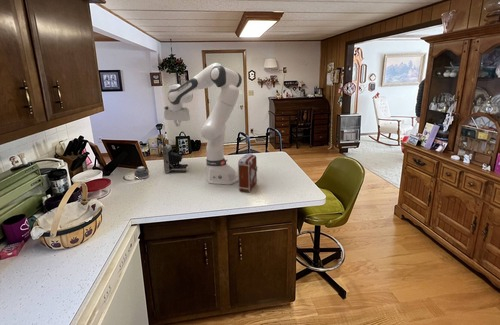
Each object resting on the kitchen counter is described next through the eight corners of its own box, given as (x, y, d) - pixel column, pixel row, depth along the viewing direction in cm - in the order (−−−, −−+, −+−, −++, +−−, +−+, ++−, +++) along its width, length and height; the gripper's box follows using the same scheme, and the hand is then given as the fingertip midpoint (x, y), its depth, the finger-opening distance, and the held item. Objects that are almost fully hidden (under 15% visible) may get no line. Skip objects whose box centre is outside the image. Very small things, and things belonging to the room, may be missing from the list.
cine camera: (261, 182, 185) (261, 152, 179) (251, 193, 167) (250, 160, 161) (247, 180, 187) (247, 151, 182) (236, 191, 170) (235, 159, 164)
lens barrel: (152, 175, 199) (151, 169, 198) (142, 180, 191) (141, 173, 190) (141, 174, 203) (140, 168, 201) (132, 178, 195) (131, 172, 193)
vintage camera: (185, 174, 203) (184, 146, 198) (164, 173, 203) (162, 146, 198) (188, 170, 213) (187, 143, 207) (168, 169, 213) (166, 143, 207)
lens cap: (147, 173, 198) (146, 166, 196) (142, 176, 193) (141, 168, 192) (141, 172, 200) (140, 165, 198) (136, 175, 195) (135, 168, 194)
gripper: (191, 107, 204) (192, 126, 208) (167, 106, 211) (169, 125, 216) (185, 108, 198) (187, 127, 202) (162, 107, 206) (164, 126, 210)
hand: (177, 126), depth 209 cm, fingers closed
